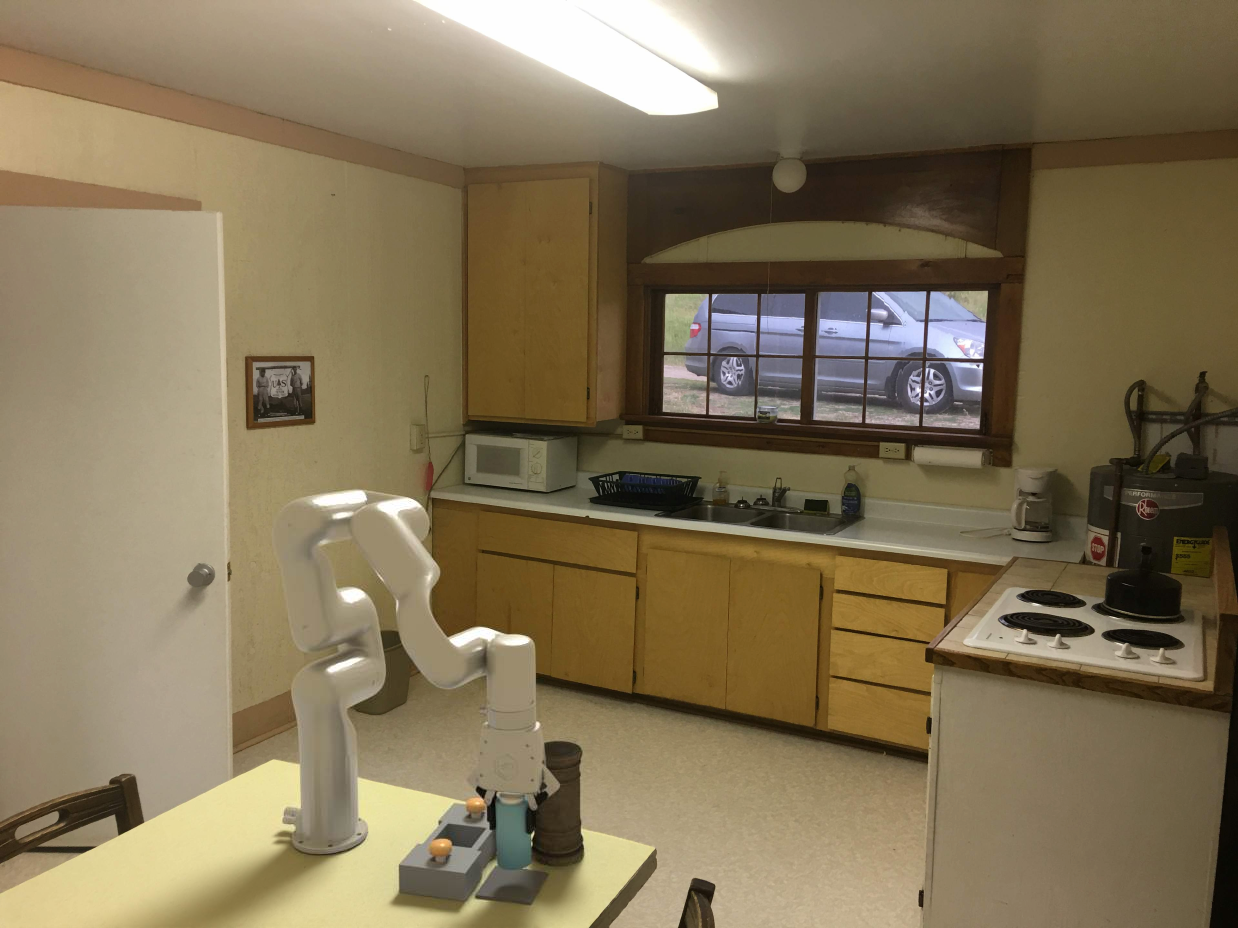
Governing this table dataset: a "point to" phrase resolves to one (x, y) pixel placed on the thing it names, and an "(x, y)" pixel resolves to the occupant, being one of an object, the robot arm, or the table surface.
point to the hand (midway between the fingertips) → (513, 827)
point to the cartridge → (512, 831)
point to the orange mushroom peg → (475, 807)
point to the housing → (450, 857)
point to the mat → (512, 885)
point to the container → (560, 808)
